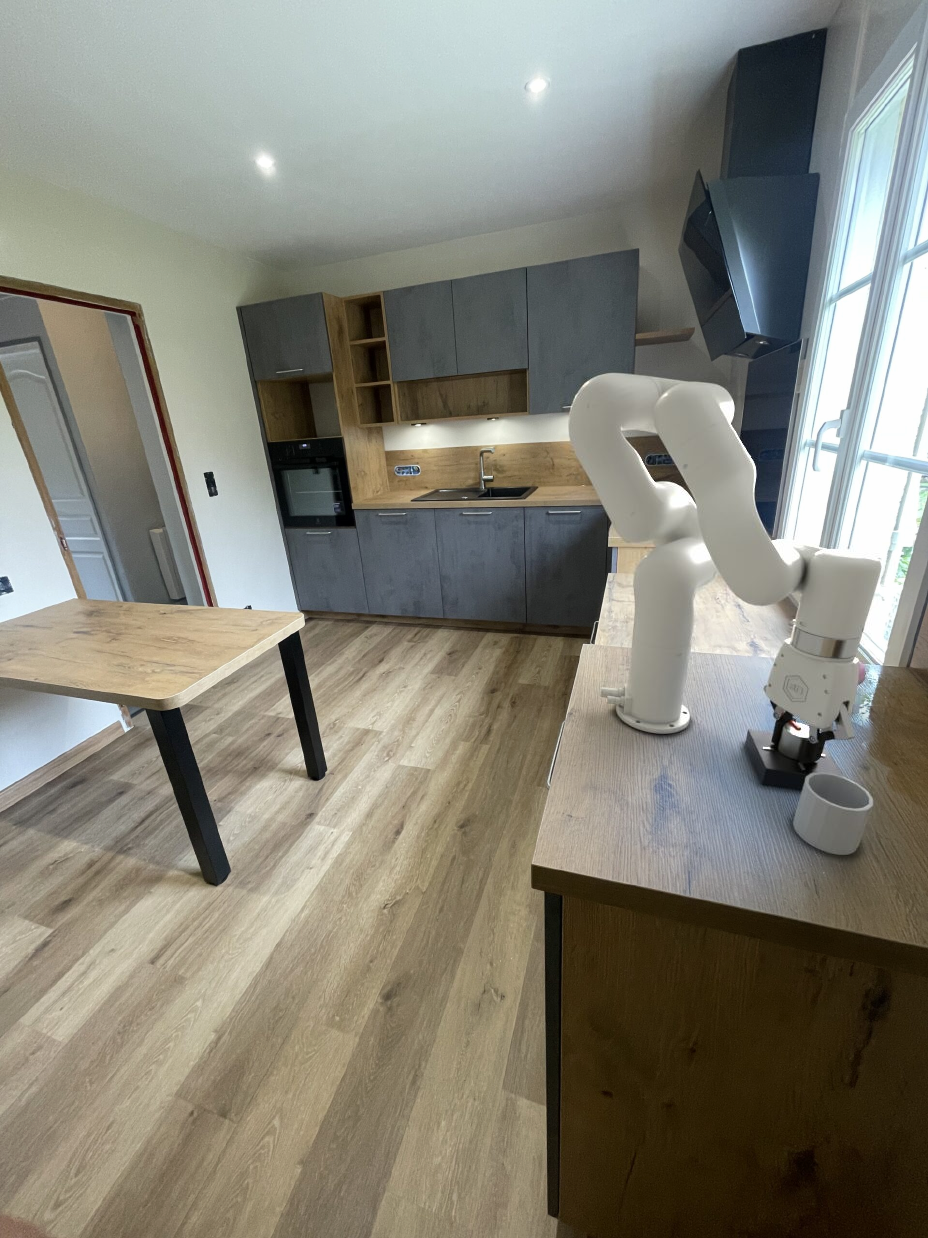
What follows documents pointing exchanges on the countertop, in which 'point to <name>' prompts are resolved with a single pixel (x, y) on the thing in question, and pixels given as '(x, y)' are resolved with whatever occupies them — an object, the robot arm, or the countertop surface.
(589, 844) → the countertop surface
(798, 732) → the oven knob
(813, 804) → the pot
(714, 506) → the robot arm
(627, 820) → the countertop surface
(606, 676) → the countertop surface
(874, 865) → the countertop surface
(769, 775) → the panel
